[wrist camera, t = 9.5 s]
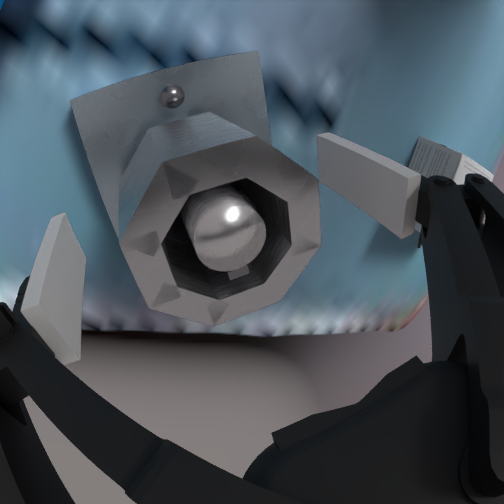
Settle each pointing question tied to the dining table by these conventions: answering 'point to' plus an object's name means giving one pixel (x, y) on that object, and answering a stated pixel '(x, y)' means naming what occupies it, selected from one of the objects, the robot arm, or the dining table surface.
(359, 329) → the dining table surface
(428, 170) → the small box
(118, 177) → the block
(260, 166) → the tube
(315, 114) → the dining table surface
